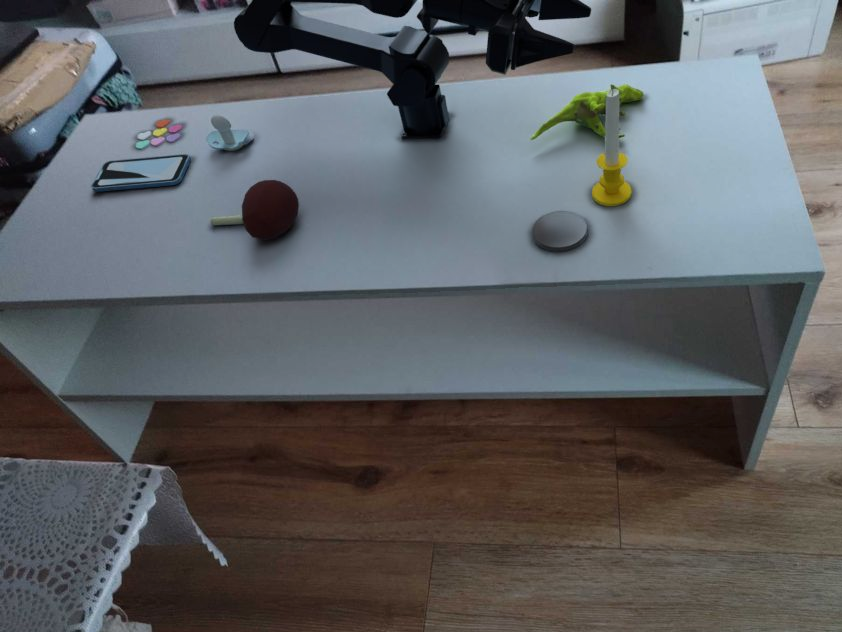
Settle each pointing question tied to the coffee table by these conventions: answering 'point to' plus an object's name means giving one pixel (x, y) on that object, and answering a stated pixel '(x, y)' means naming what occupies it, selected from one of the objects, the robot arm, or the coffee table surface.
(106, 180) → the smartphone
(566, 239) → the coaster
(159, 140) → the candy hearts
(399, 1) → the robot arm
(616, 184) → the candle
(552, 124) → the dinosaur figurine
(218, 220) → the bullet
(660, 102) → the coffee table surface
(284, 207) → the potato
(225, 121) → the pacifier
